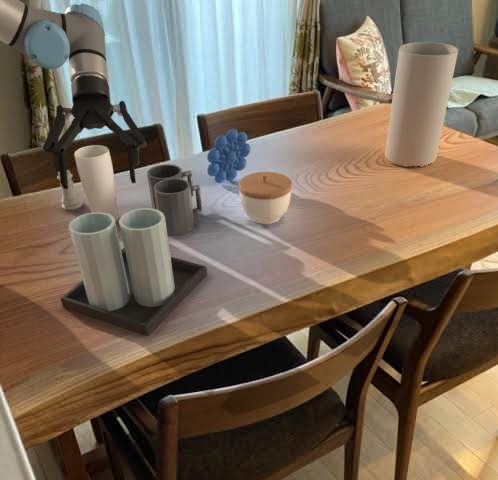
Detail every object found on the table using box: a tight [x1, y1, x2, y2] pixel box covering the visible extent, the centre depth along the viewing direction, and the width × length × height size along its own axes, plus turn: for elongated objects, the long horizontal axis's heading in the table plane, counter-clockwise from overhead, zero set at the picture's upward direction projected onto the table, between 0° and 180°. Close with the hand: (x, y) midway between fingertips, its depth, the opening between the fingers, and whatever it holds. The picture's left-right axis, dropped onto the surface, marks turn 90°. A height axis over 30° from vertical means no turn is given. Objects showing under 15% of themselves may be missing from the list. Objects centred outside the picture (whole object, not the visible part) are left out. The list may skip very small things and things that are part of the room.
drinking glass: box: [73, 144, 120, 223], centre depth 109 cm, size 7×7×15 cm
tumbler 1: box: [68, 212, 131, 311], centre depth 87 cm, size 7×7×15 cm
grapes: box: [206, 128, 251, 184], centre depth 124 cm, size 12×7×12 cm, turn 124°
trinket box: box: [238, 171, 293, 225], centre depth 110 cm, size 11×11×9 cm
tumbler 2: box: [118, 207, 175, 307], centre depth 87 cm, size 7×7×15 cm
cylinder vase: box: [384, 41, 459, 168], centre depth 126 cm, size 12×12×25 cm
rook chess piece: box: [56, 169, 83, 212], centre depth 116 cm, size 4×4×8 cm
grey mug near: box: [153, 178, 203, 236], centre depth 108 cm, size 10×7×9 cm
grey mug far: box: [146, 164, 195, 210], centre depth 114 cm, size 10×7×9 cm
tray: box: [59, 247, 208, 337], centre depth 93 cm, size 17×18×2 cm
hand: (99, 183), depth 108 cm, fingers open, 13 cm apart
